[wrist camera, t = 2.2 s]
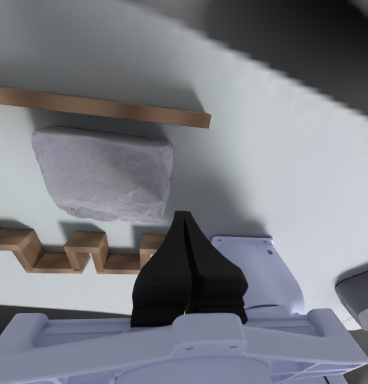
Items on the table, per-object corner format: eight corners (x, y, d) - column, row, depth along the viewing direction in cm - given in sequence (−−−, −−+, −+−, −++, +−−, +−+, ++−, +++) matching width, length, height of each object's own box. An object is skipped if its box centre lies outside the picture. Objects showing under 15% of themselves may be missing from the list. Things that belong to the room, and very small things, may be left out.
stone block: (170, 202, 22) (177, 131, 15) (167, 231, 18) (174, 156, 11) (81, 194, 21) (46, 114, 14) (60, 223, 17) (0, 135, 10)
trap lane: (205, 112, 14) (212, 115, 12) (181, 260, 25) (182, 278, 23) (-119, 71, 12) (-201, 63, 9) (10, 255, 22) (-11, 276, 20)
